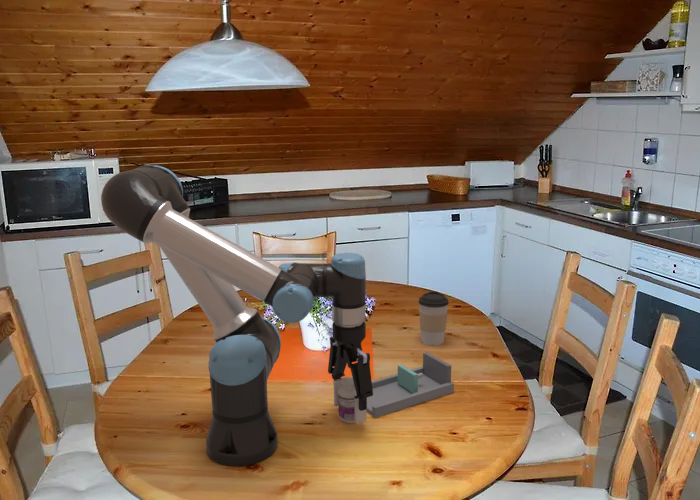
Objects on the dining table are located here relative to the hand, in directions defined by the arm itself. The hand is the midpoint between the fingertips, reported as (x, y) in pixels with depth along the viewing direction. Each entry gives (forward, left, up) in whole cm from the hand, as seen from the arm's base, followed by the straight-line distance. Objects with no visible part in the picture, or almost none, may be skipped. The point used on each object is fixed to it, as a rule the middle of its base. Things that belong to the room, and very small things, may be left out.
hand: (349, 412), depth 144 cm
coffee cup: (+46, +26, -2) cm, 53 cm away
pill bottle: (0, 0, -2) cm, 2 cm away
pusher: (+21, +3, 0) cm, 21 cm away
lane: (+17, +3, -1) cm, 17 cm away
